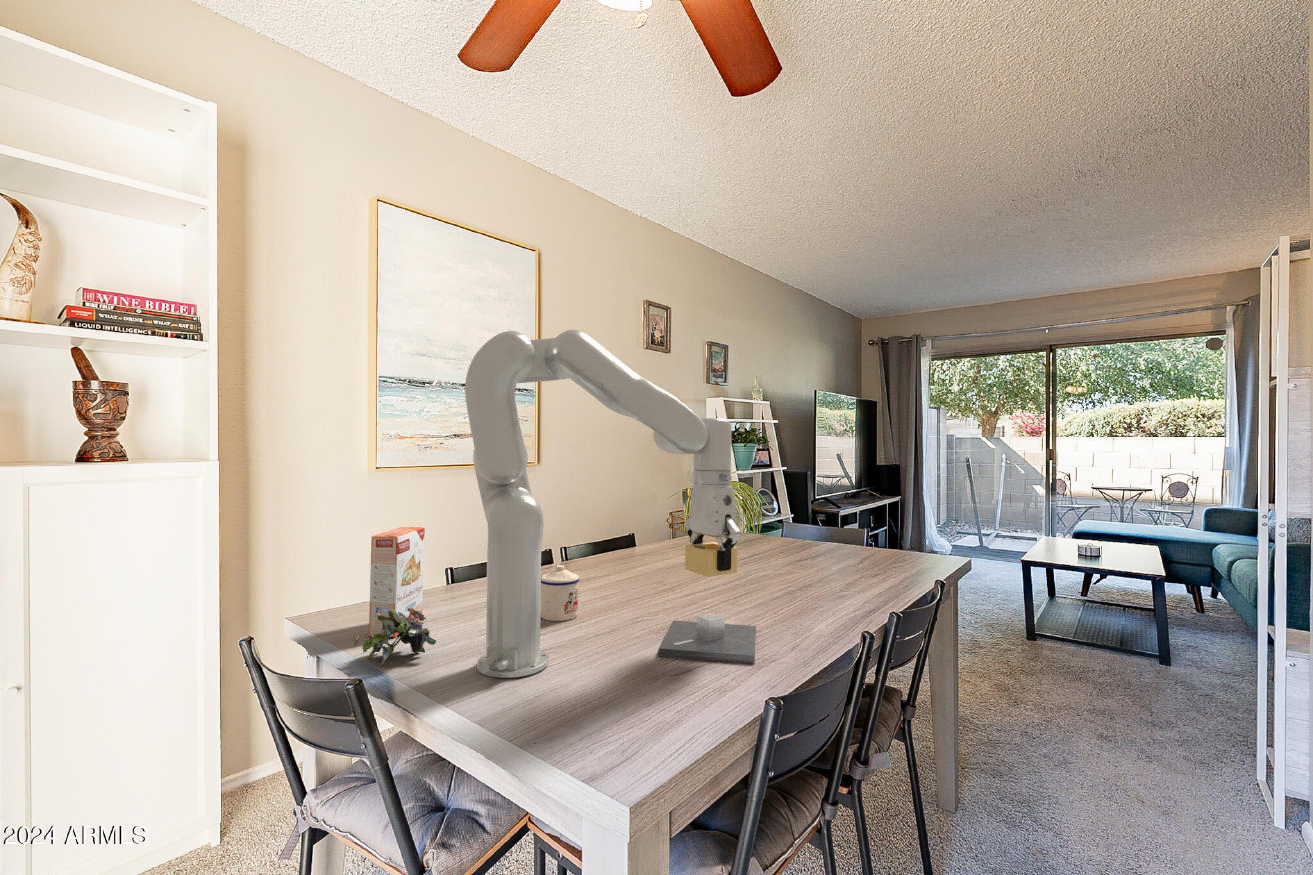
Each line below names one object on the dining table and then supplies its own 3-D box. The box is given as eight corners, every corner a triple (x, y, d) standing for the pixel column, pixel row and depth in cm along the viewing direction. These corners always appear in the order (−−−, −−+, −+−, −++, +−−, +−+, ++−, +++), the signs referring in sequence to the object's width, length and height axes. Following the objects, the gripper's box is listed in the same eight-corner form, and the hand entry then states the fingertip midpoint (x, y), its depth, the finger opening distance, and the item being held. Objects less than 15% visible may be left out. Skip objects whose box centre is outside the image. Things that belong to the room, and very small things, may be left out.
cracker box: (396, 638, 122) (398, 536, 122) (367, 638, 122) (368, 535, 122) (424, 618, 136) (425, 526, 136) (398, 617, 136) (399, 525, 136)
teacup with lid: (571, 623, 134) (571, 571, 134) (532, 620, 136) (533, 568, 136) (588, 608, 146) (588, 560, 146) (552, 606, 147) (553, 558, 147)
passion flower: (414, 682, 114) (451, 632, 113) (371, 694, 104) (411, 639, 103) (381, 641, 118) (416, 593, 118) (336, 648, 108) (374, 596, 107)
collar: (736, 572, 120) (737, 546, 120) (708, 576, 116) (708, 549, 116) (713, 565, 127) (713, 540, 127) (685, 569, 122) (685, 543, 122)
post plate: (754, 663, 111) (754, 633, 111) (658, 656, 114) (659, 627, 114) (755, 632, 129) (756, 607, 129) (672, 627, 132) (673, 602, 132)
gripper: (755, 481, 116) (754, 572, 116) (699, 476, 131) (698, 557, 131) (726, 482, 112) (725, 577, 112) (671, 476, 127) (670, 560, 126)
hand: (710, 565), depth 121 cm, fingers closed on collar, 7 cm apart
